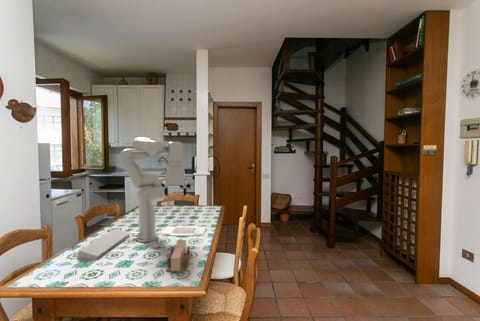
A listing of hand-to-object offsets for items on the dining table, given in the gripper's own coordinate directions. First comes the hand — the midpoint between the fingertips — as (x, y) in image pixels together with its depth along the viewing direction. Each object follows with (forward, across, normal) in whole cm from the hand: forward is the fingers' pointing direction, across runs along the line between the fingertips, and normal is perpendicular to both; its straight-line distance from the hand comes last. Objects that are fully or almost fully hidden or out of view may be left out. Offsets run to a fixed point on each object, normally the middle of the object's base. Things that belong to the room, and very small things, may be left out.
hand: (175, 195), depth 138 cm
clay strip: (+29, +4, -16) cm, 34 cm away
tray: (+31, +1, +32) cm, 44 cm away
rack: (+30, +4, -16) cm, 34 cm away
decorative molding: (+31, -40, +8) cm, 51 cm away
